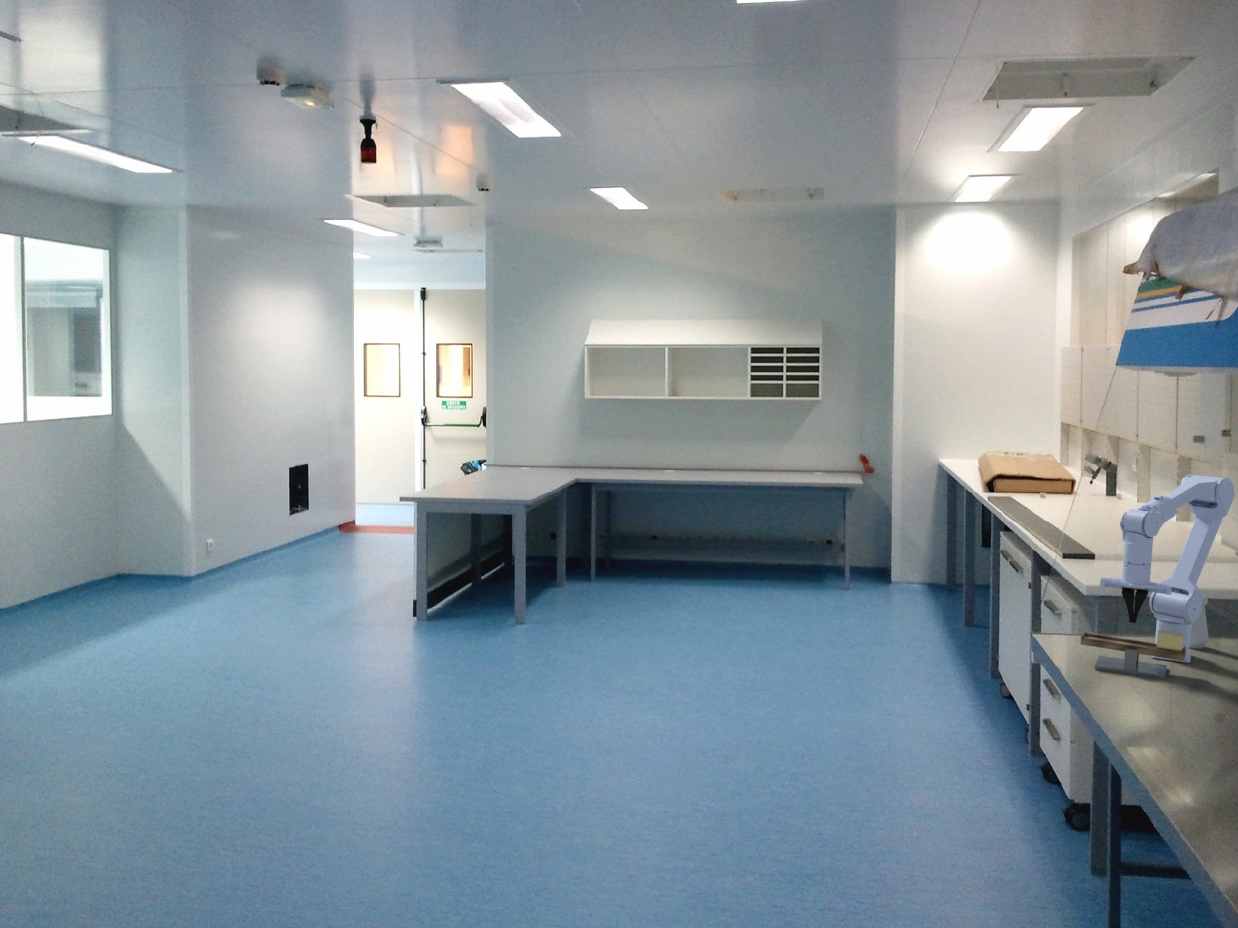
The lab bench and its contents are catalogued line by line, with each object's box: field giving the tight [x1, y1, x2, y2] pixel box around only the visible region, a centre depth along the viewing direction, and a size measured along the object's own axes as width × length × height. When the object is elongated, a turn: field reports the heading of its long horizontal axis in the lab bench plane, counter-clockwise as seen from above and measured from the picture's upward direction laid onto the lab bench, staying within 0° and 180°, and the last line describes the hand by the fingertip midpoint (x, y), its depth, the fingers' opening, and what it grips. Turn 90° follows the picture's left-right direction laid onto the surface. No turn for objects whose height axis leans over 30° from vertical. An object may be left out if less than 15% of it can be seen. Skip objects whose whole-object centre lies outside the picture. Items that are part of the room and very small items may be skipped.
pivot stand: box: [1094, 648, 1168, 680], centre depth 241 cm, size 10×14×5 cm
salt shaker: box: [1189, 594, 1210, 650], centre depth 263 cm, size 6×6×13 cm
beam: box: [1079, 630, 1186, 661], centre depth 241 cm, size 21×7×3 cm, turn 61°
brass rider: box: [1156, 630, 1184, 653], centre depth 237 cm, size 4×5×4 cm
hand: (1132, 621), depth 244 cm, fingers closed
